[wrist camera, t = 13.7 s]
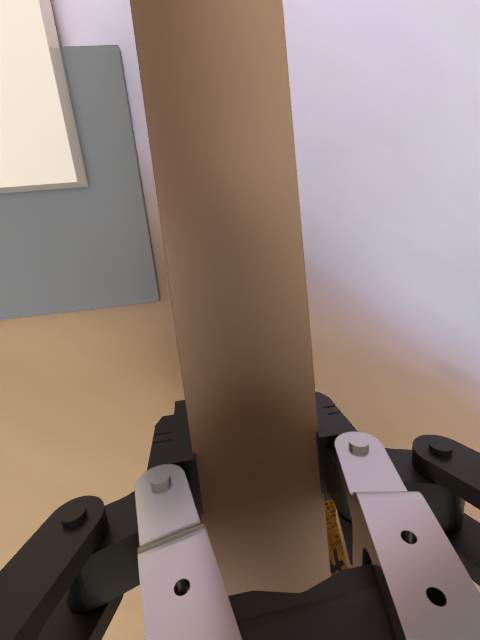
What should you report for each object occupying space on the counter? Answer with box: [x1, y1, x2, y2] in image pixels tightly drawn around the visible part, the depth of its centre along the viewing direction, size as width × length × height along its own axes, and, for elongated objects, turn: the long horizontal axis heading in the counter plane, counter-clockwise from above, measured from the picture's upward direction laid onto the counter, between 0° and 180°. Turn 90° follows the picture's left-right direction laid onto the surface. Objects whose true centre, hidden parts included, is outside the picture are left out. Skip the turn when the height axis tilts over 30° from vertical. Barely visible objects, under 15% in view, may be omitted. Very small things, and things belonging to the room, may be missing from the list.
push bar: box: [130, 0, 331, 596], centre depth 11 cm, size 4×24×5 cm, turn 5°
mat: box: [0, 45, 160, 320], centre depth 20 cm, size 14×15×1 cm
